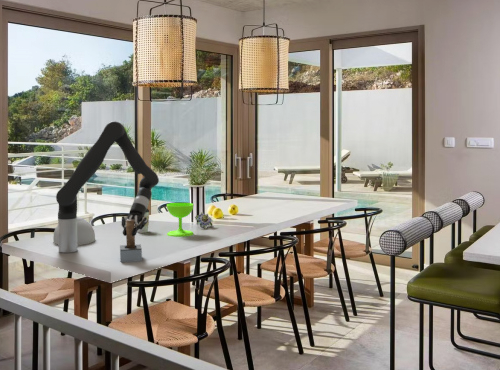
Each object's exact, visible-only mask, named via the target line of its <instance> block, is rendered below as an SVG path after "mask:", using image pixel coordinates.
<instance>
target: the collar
mask: <svg viewBox="0 0 500 370" xmlns="http://www.w3.org/2000/svg"><path fill="white" fill-rule="evenodd" d="M119 253H120V254H119V257H120V260H119V261H120V262H121V263H129V262H142V261H143V254H142V253H143V250H142V245H141V244H135V248H127V244H123V245H121V244H120V245H119Z"/></svg>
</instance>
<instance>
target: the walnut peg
mask: <svg viewBox="0 0 500 370" xmlns="http://www.w3.org/2000/svg"><path fill="white" fill-rule="evenodd" d="M134 228H135V224H134V220H128V219H127V220H126V236H125V237H126V245H127V248H135V245H136V235H135V236H132V231H133V229H134Z"/></svg>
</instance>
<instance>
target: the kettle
mask: <svg viewBox="0 0 500 370" xmlns="http://www.w3.org/2000/svg"><path fill="white" fill-rule="evenodd" d="M58 234H59V232H58V224H57V226H56V227H55V228H54V232H53V236H52V237H53V238H52V239H53V242H52V243H53V244H54V243H55V244H54V245H57V244H58ZM95 241H96V233H95V229H94V227H93V225H92V224H91V223H90V222H89V221H88V220H86V219H85V218H83V217H81V216H77V243H78V246H79V245H86V244H87V245H88V244H91V243H94V242H95Z"/></svg>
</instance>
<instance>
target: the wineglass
mask: <svg viewBox="0 0 500 370" xmlns="http://www.w3.org/2000/svg"><path fill="white" fill-rule="evenodd" d="M166 208H167V211H168V212H169V214H170V215H171V216H173V217H174V218H177V219H178V228H177V229H176V230H171V231H168V232H167V233H166V235H167V236H169V237H172V238H174V237H175V238H183V237H191V236H193V234H195V233H194V232H193V231H192V230H186V229H184V228H183V218H186V217H188V216H189V215H190V214H191V213H192V211H193V209H194V203H192V202H172V203H171V202H170V203H167V204H166Z"/></svg>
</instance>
